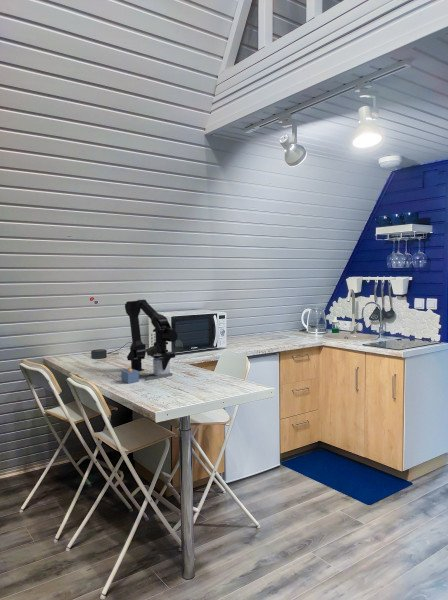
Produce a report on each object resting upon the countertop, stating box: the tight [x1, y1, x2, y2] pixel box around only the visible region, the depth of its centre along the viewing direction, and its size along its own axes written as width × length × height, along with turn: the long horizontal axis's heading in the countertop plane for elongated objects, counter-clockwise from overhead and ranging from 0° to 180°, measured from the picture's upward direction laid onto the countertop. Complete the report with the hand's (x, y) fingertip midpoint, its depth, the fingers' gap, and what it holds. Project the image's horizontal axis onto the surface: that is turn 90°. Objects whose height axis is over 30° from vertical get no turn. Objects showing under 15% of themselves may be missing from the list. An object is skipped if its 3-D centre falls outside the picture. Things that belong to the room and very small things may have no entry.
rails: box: [139, 372, 173, 381], centre depth 238 cm, size 8×16×1 cm, turn 130°
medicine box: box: [152, 357, 171, 376], centre depth 241 cm, size 8×4×9 cm, turn 130°
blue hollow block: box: [120, 369, 140, 385], centre depth 228 cm, size 7×6×6 cm
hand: (161, 369), depth 241 cm, fingers closed on medicine box, 4 cm apart
